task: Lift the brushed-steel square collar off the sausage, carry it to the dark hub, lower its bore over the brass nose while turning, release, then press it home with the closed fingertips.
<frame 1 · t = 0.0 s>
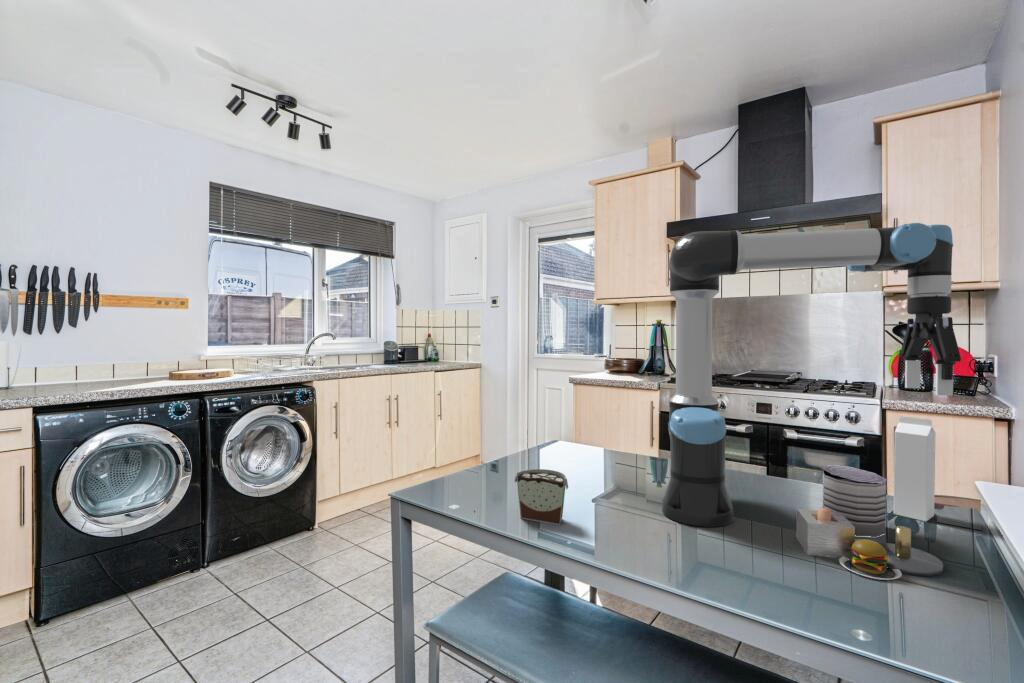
hand: (927, 391, 111), 28 cm above the table, fingers open, 13 cm apart
can: (852, 528, 106), on the table
sausage: (823, 548, 95), on the table
food container: (545, 517, 112), on the table
hamburger: (869, 573, 87), on the table
hub: (902, 561, 90), on the table
collar: (823, 548, 95), on the table
milk: (913, 515, 113), on the table
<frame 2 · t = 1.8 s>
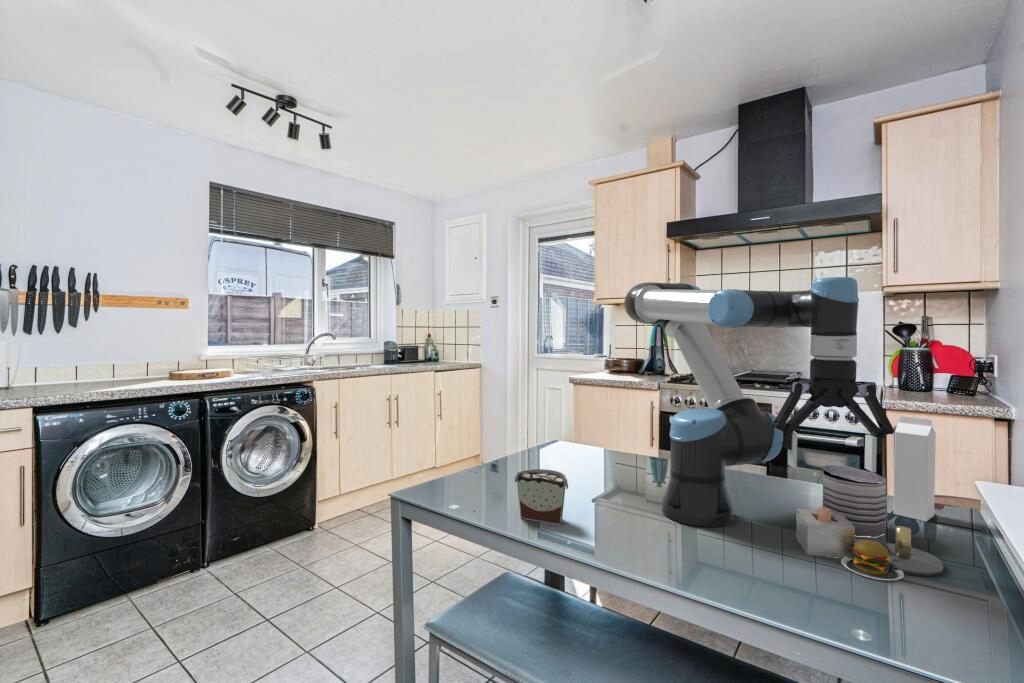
hand: (830, 468, 96), 15 cm above the table, fingers open, 13 cm apart
nothing on the table moved.
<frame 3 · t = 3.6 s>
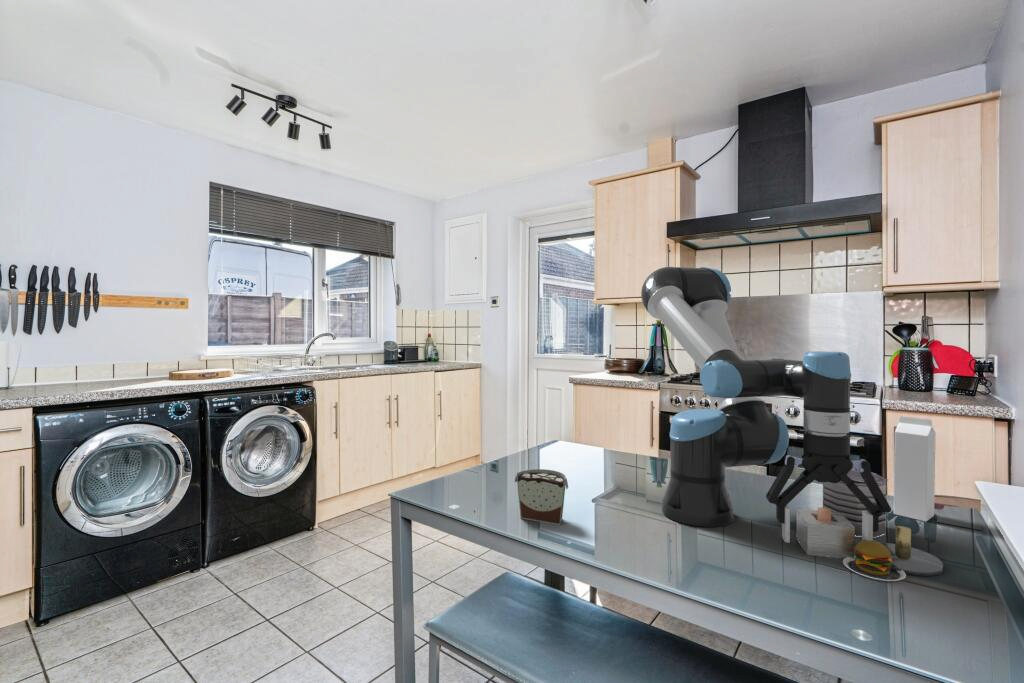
hand: (825, 544, 95), 1 cm above the table, fingers open, 13 cm apart
nothing on the table moved.
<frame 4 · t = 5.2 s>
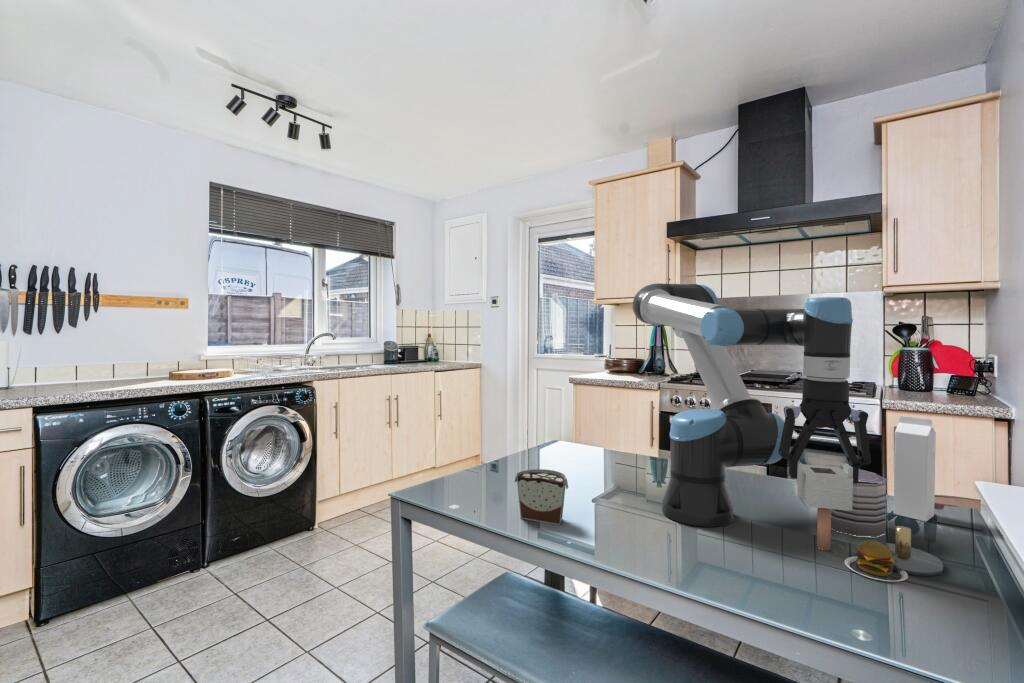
hand: (821, 497, 96), 10 cm above the table, fingers closed on collar, 8 cm apart
collar: (822, 501, 96), point 9 cm above the table, touching gripper
everything else where it was.
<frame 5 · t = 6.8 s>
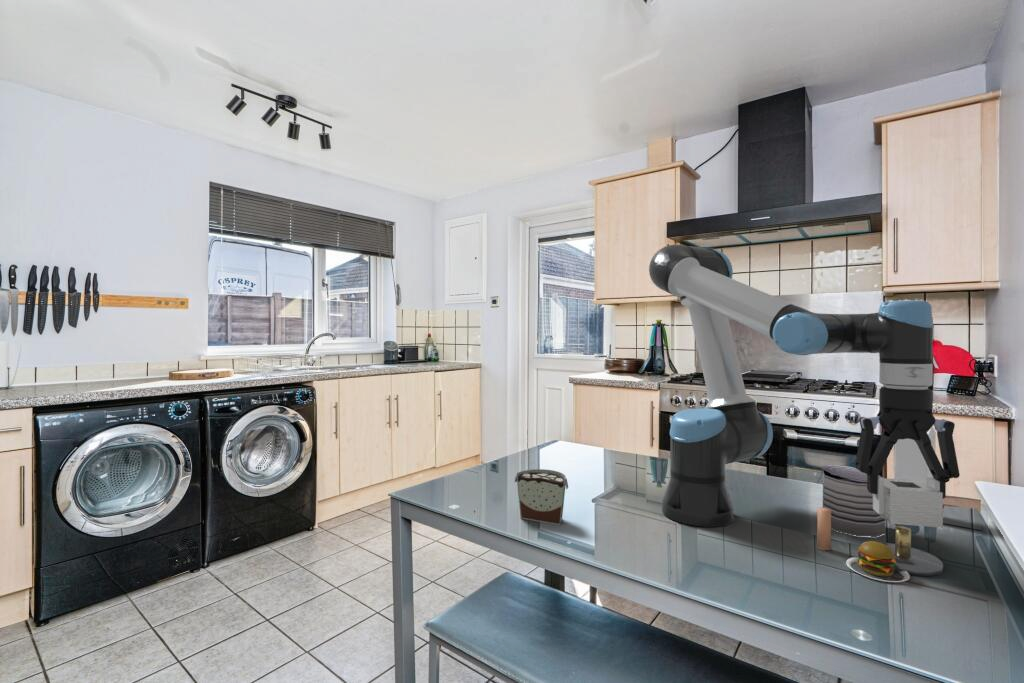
hand: (905, 513, 90), 9 cm above the table, fingers closed on collar, 8 cm apart
collar: (905, 518, 90), point 8 cm above the table, touching gripper
when the fingers open (2 cm above the table, at t = 8.7 s): collar stays where it is, resting on hub.
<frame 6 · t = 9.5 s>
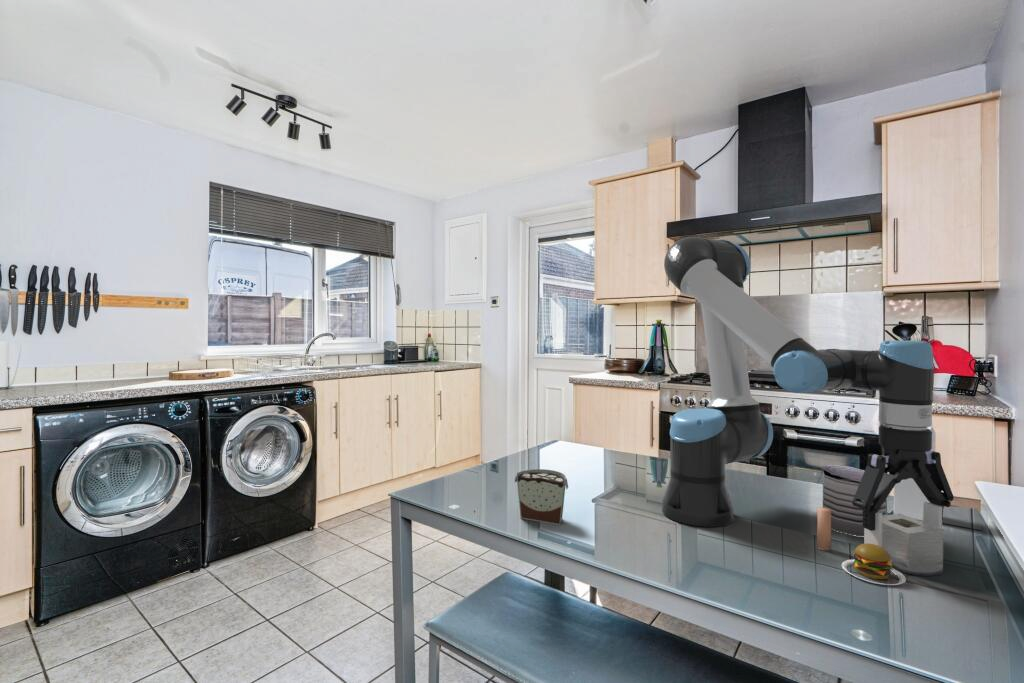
hand: (903, 543, 90), 3 cm above the table, fingers open, 13 cm apart
hamburger: (872, 578, 86), on the table
collar: (903, 556, 90), point 1 cm above the table, touching hub
everything else where it was.
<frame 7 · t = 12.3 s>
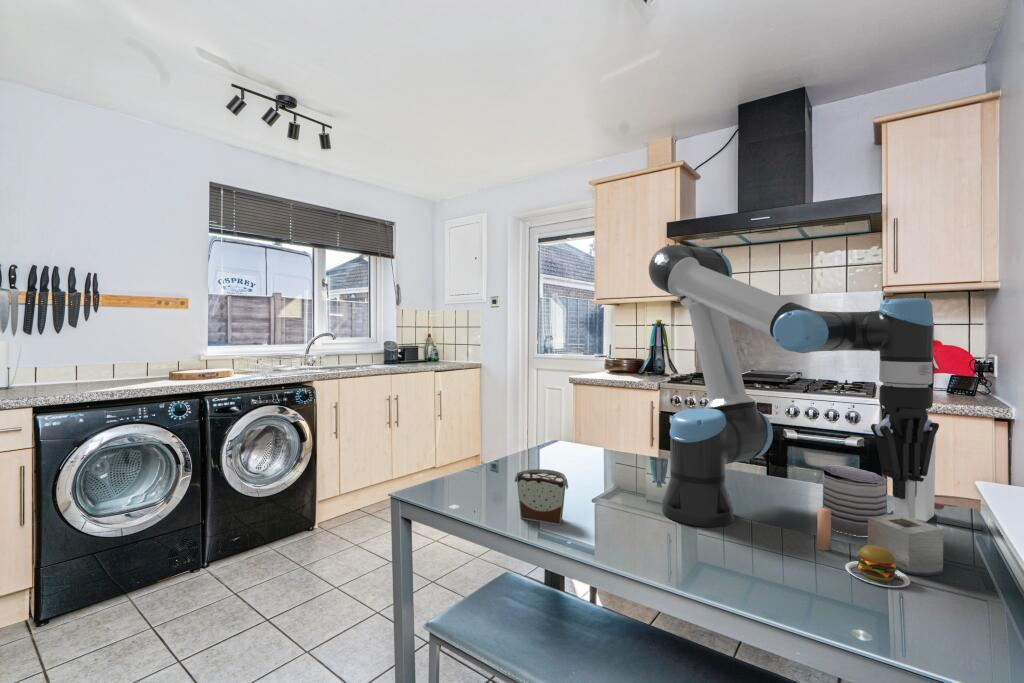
hand: (904, 515, 90), 8 cm above the table, fingers closed
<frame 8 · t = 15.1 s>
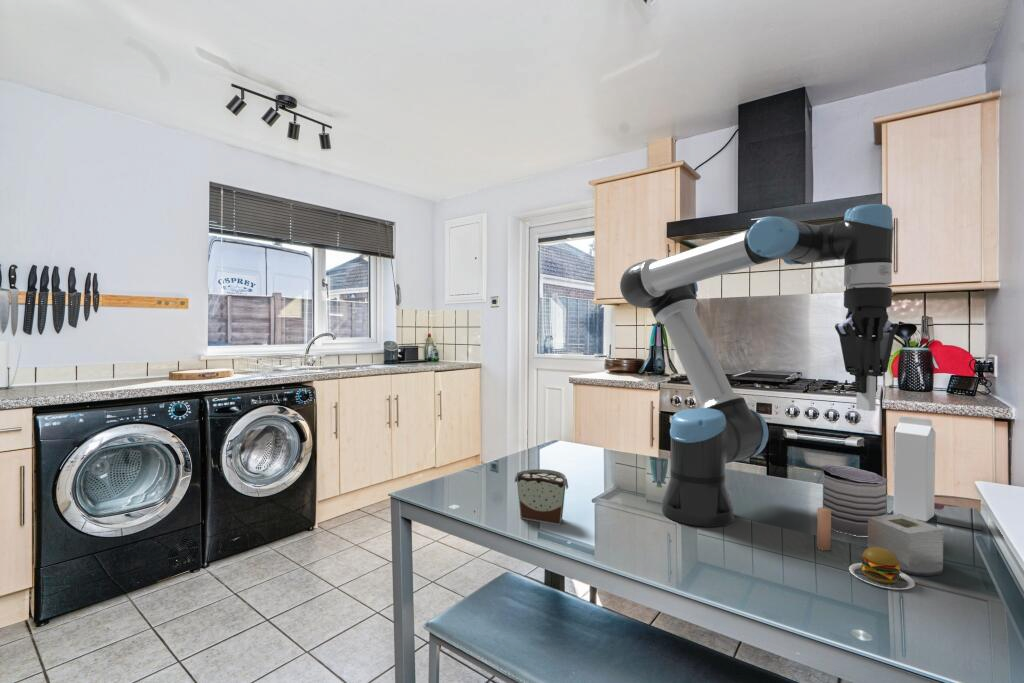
hand: (865, 409, 96), 26 cm above the table, fingers closed
at the end: collar 0.2 cm from the hub (horizontally); collar point 1.0 cm above the table; the gripper is holding nothing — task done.
